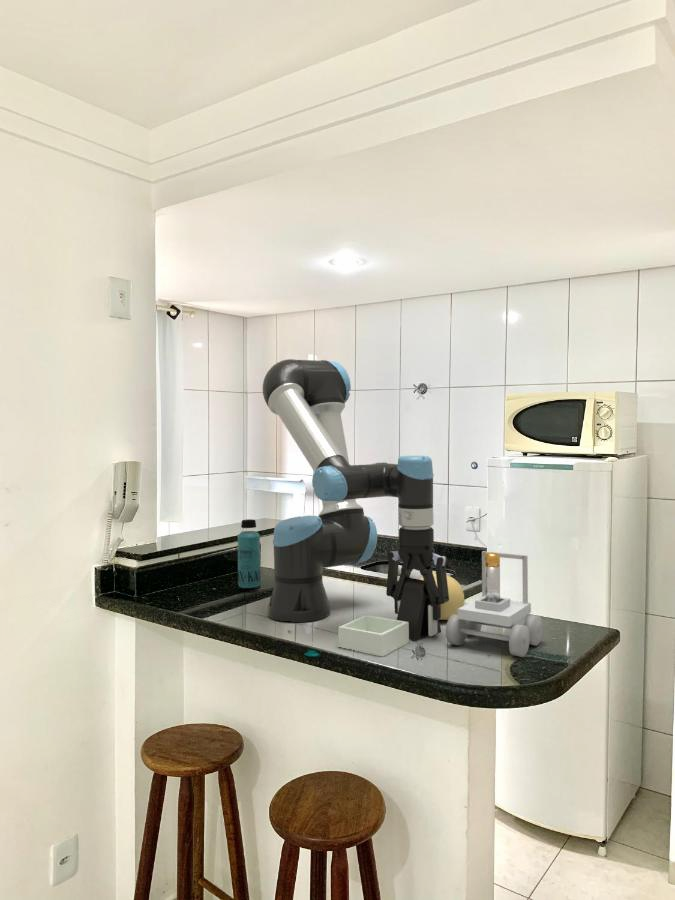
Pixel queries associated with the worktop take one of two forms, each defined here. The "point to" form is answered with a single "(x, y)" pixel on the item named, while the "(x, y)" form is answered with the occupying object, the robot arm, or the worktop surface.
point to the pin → (492, 577)
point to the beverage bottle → (248, 556)
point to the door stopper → (415, 608)
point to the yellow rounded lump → (451, 598)
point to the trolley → (498, 617)
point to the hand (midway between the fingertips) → (417, 631)
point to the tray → (374, 635)
